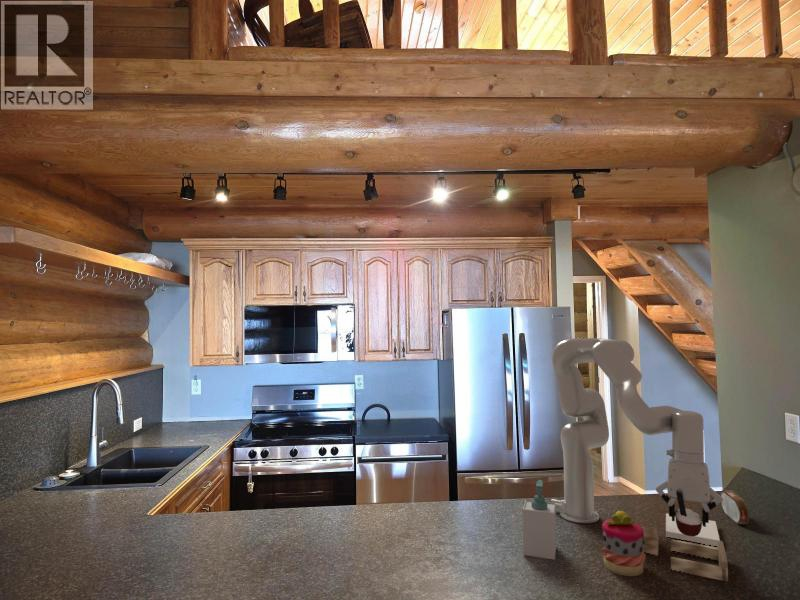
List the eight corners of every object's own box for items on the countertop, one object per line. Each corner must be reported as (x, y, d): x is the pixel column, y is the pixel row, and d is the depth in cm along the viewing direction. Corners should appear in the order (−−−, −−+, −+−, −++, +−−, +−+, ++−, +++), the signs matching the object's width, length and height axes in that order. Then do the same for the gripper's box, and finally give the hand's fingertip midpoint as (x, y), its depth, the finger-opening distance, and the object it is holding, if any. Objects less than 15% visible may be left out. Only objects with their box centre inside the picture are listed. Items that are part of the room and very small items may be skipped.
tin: (750, 529, 161) (749, 502, 161) (739, 528, 162) (738, 501, 162) (729, 511, 176) (728, 486, 176) (719, 510, 176) (718, 486, 177)
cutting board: (665, 537, 154) (665, 531, 154) (666, 519, 168) (666, 513, 168) (720, 547, 148) (719, 540, 148) (715, 527, 162) (715, 521, 162)
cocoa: (693, 529, 143) (693, 485, 143) (711, 538, 136) (711, 492, 137) (663, 530, 141) (664, 486, 142) (680, 539, 135) (680, 493, 136)
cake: (596, 557, 142) (595, 503, 142) (634, 557, 141) (633, 503, 142) (610, 576, 131) (610, 517, 132) (652, 577, 131) (651, 518, 131)
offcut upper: (640, 544, 145) (640, 535, 145) (639, 534, 152) (639, 526, 152) (658, 547, 143) (658, 538, 144) (656, 537, 150) (656, 528, 150)
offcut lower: (638, 553, 145) (638, 544, 145) (639, 542, 152) (639, 534, 152) (657, 557, 143) (657, 548, 143) (658, 546, 150) (658, 537, 150)
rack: (671, 569, 134) (670, 550, 135) (670, 549, 146) (670, 532, 146) (728, 581, 128) (727, 561, 129) (723, 559, 140) (722, 541, 140)
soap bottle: (556, 546, 148) (555, 480, 149) (554, 560, 140) (554, 490, 141) (525, 542, 151) (525, 477, 152) (523, 555, 143) (522, 487, 143)
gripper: (652, 455, 140) (652, 520, 140) (726, 465, 132) (727, 534, 131) (653, 449, 147) (653, 511, 146) (723, 457, 139) (724, 523, 138)
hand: (688, 521), depth 139 cm, fingers closed on cocoa, 6 cm apart
